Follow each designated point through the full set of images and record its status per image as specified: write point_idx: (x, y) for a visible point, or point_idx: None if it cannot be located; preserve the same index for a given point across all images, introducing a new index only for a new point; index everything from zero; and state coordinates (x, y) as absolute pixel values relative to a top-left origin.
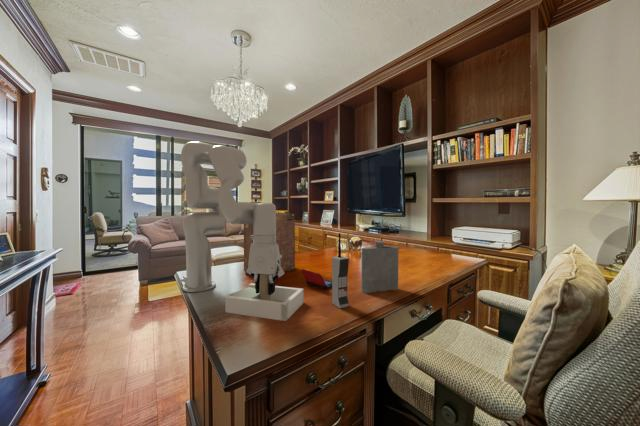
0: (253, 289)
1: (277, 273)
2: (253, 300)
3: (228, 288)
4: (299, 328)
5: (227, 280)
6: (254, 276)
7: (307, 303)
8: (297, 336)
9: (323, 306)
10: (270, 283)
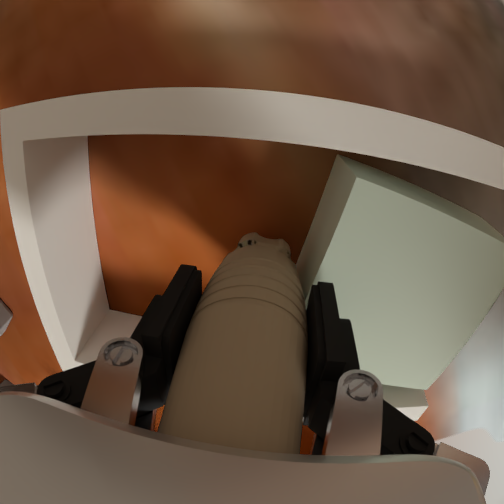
0: (386, 367)
1: None
2: (271, 95)
3: (498, 394)
4: (6, 67)
5: (496, 434)
6: (375, 425)
7: None
8: (3, 14)
9: (20, 290)
10: (146, 343)
